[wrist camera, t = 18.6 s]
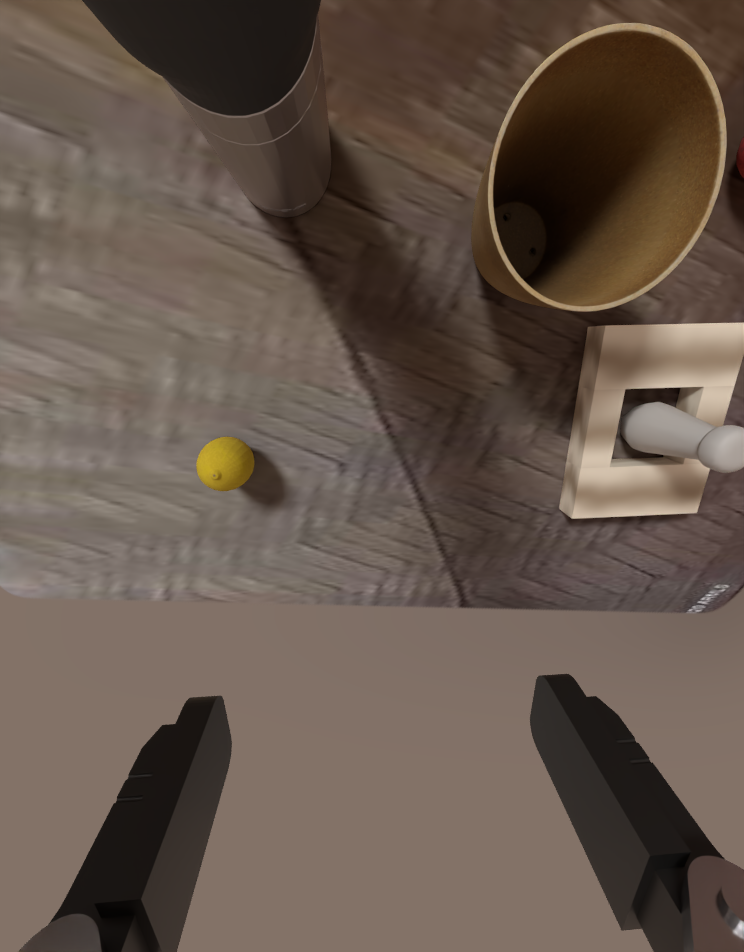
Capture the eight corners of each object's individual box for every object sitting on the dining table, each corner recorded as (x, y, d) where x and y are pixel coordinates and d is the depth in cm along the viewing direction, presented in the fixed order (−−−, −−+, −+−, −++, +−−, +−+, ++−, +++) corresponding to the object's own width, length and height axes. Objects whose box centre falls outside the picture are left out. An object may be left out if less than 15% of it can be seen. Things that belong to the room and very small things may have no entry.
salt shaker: (650, 389, 44) (765, 407, 32) (666, 428, 46) (781, 459, 34) (605, 417, 45) (700, 445, 33) (622, 455, 47) (719, 494, 35)
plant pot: (577, 139, 36) (742, -9, 21) (579, 307, 41) (713, 286, 26) (423, 173, 36) (478, 51, 21) (444, 336, 41) (500, 332, 26)
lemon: (271, 453, 44) (255, 476, 37) (239, 484, 45) (218, 512, 38) (234, 419, 43) (209, 436, 35) (202, 452, 44) (172, 475, 36)
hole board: (588, 326, 42) (605, 325, 39) (725, 323, 42) (752, 322, 39) (559, 508, 49) (571, 518, 46) (676, 503, 50) (696, 513, 47)
